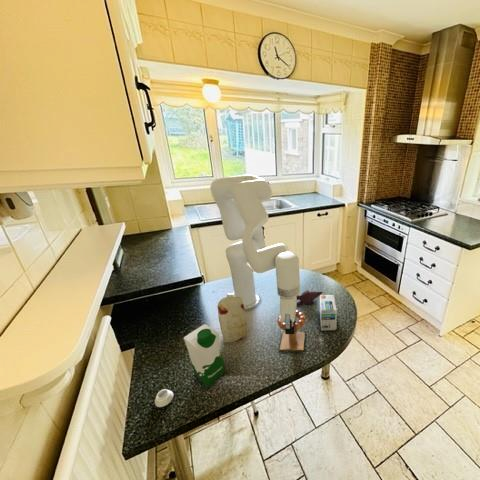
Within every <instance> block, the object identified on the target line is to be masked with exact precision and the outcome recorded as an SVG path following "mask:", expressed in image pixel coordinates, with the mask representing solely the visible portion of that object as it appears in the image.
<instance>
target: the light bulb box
mask: <svg viewBox="0 0 480 480" xmlns="http://www.w3.org/2000/svg"><path fill="white" fill-rule="evenodd" d="M335 298H336V297H335V294H321V295H319V321H320V331H322V332H323V331H337V322H338V308H337V303H336V299H335Z"/></svg>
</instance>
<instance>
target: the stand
mask: <svg viewBox="0 0 480 480" xmlns="http://www.w3.org/2000/svg"><path fill="white" fill-rule="evenodd" d="M295 323H297V320H296V319H295ZM305 336H306V331H297V330H296V331H295V333H294V334H285V331H282V335H281V339H280V346H279V351H304V350H305Z"/></svg>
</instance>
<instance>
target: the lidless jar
mask: <svg viewBox="0 0 480 480" xmlns="http://www.w3.org/2000/svg"><path fill="white" fill-rule="evenodd" d="M173 399H174V392H173V391H172V390H170V389H167V388H163V389H161V390H159V391H158V392H157V394H156V397H155V398H154V405H155V406H156V407H157V408H163V407H165V406H167V405H169V404H170V403H171V402H172V400H173Z"/></svg>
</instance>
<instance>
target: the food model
mask: <svg viewBox="0 0 480 480" xmlns="http://www.w3.org/2000/svg"><path fill="white" fill-rule="evenodd" d="M216 307H217V315H218V322H219V327H220V332H221V335H222V340H223V343H237V342H239V341H241V340H243V339H244V338H245V337H246V336H247V330H248V329H247V328H248V324H247V323H248V322H247V321H248V320H247V314H246V313H247V312H246V309H245V308H244V304H243V300H242V298H241V297H231V296H229V297H227V296H225V297H223V298H221V299H220V300H219V301H218V302H217V306H216Z"/></svg>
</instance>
